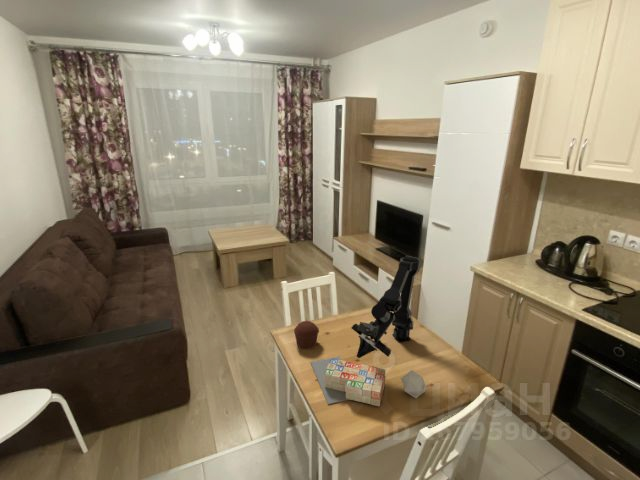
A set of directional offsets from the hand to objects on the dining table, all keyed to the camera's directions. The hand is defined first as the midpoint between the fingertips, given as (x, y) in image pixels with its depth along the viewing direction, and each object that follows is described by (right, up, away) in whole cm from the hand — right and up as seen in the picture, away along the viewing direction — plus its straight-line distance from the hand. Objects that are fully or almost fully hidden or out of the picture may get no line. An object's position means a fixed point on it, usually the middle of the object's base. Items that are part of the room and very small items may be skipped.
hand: (357, 357), depth 132 cm
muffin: (-21, -2, +23) cm, 31 cm away
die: (+20, -11, -6) cm, 23 cm away
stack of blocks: (0, -4, -1) cm, 4 cm away
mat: (-9, -8, 0) cm, 12 cm away
